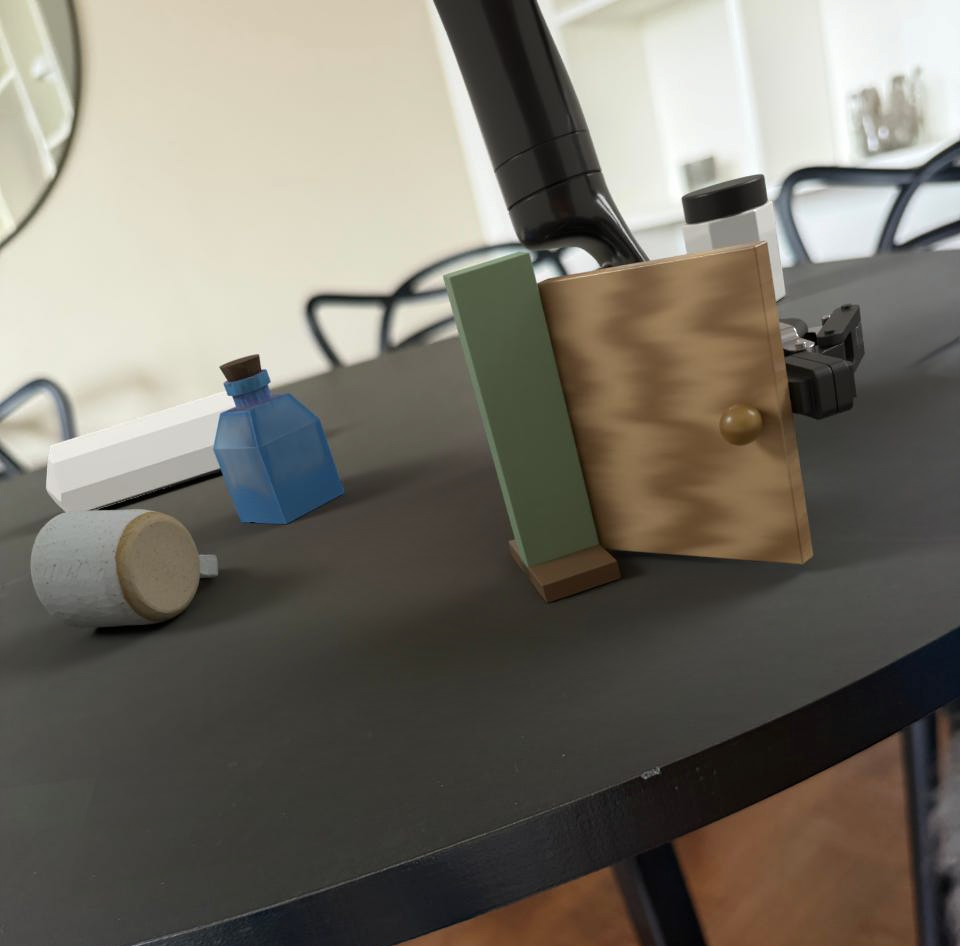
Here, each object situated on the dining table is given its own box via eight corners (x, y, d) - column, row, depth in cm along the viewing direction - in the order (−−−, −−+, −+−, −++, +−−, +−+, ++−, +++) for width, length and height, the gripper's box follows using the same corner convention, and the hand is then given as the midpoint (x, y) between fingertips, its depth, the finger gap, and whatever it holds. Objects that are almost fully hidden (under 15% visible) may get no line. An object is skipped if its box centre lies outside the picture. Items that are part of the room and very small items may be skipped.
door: (814, 556, 47) (768, 239, 41) (783, 582, 45) (730, 257, 40) (609, 541, 55) (548, 278, 50) (577, 563, 54) (510, 294, 48)
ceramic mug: (151, 643, 62) (100, 526, 59) (59, 648, 66) (7, 539, 63) (252, 571, 70) (212, 465, 67) (166, 579, 74) (124, 479, 71)
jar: (779, 290, 109) (761, 170, 104) (792, 302, 101) (774, 173, 97) (694, 312, 111) (673, 196, 106) (702, 325, 103) (679, 200, 98)
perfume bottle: (344, 492, 82) (294, 344, 77) (286, 524, 79) (229, 370, 74) (299, 492, 87) (248, 352, 82) (241, 522, 83) (184, 376, 78)
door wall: (577, 535, 59) (507, 249, 53) (621, 578, 52) (545, 253, 45) (512, 557, 59) (433, 272, 52) (546, 603, 52) (459, 280, 45)
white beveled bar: (31, 496, 97) (274, 419, 99) (28, 447, 101) (261, 374, 103) (67, 546, 103) (295, 473, 105) (63, 498, 107) (283, 429, 109)
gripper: (558, 315, 57) (671, 350, 41) (779, 245, 58) (973, 253, 42) (588, 444, 60) (705, 523, 44) (798, 376, 61) (985, 429, 45)
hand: (836, 391), depth 43 cm, fingers closed
